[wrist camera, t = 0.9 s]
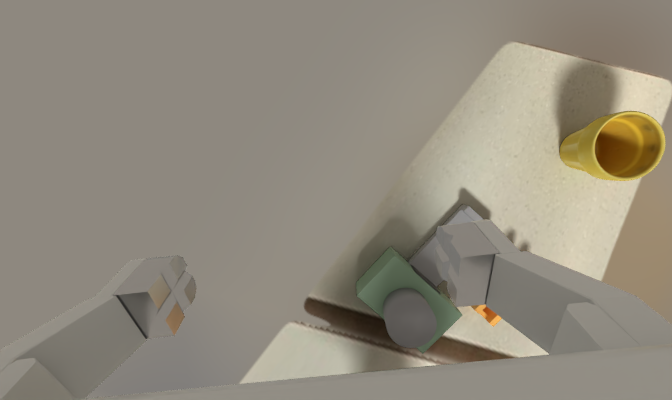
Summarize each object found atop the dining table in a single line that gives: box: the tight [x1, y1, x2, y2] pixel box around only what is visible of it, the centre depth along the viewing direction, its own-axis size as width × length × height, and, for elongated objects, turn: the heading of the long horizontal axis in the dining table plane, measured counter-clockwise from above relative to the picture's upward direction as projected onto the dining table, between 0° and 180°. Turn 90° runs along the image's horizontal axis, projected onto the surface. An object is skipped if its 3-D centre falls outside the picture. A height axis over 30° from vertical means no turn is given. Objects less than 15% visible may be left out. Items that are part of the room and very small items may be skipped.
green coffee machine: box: [356, 204, 484, 353], centre depth 50 cm, size 16×25×11 cm, turn 139°
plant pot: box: [560, 111, 665, 181], centre depth 47 cm, size 10×10×10 cm
